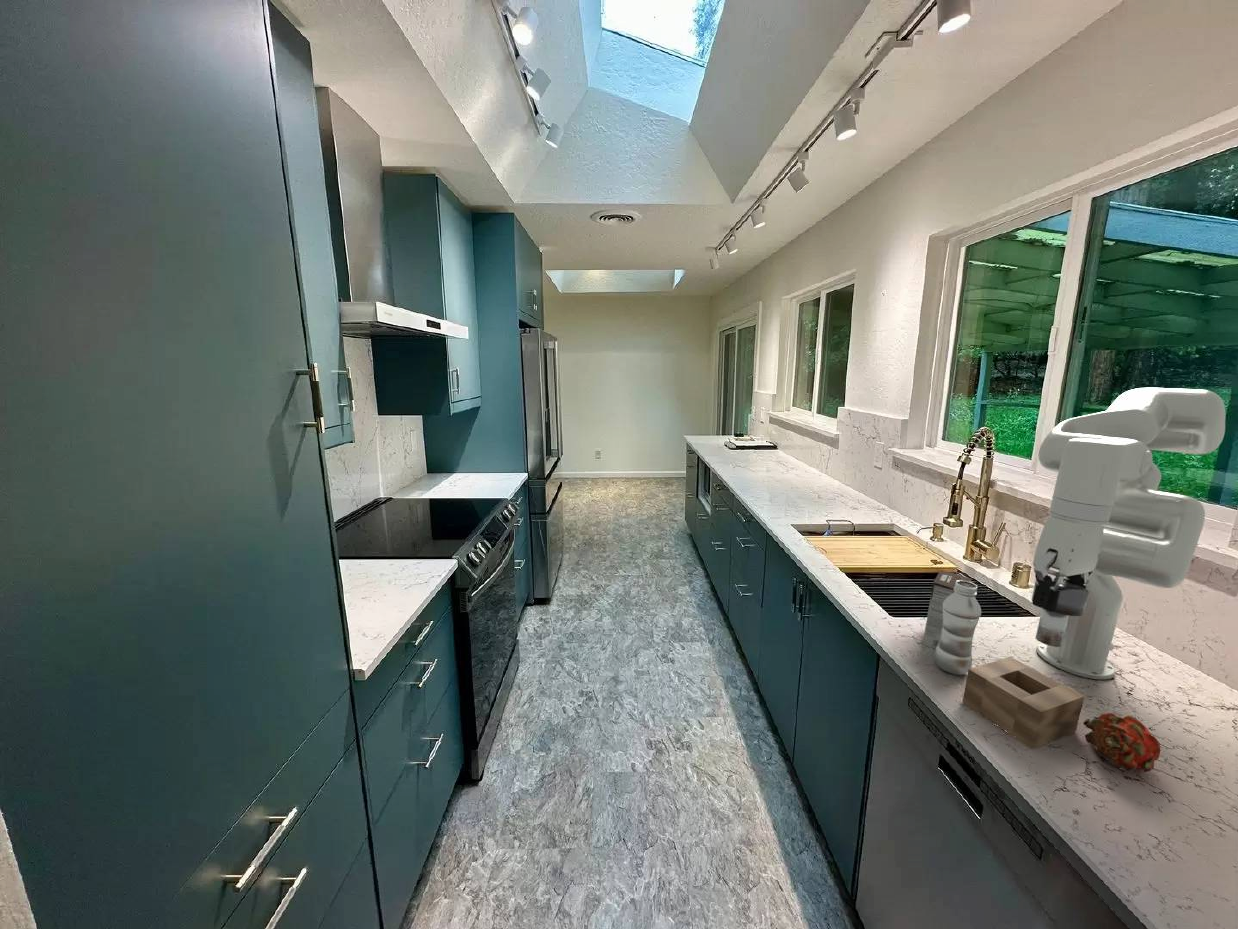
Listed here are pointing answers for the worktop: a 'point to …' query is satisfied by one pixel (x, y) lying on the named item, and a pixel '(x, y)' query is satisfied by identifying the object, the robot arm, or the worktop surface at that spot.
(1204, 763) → the worktop surface
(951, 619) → the plastic bottle
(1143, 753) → the dragon fruit
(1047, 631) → the grey metal cylinder
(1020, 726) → the hitch block
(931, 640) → the coffee box
